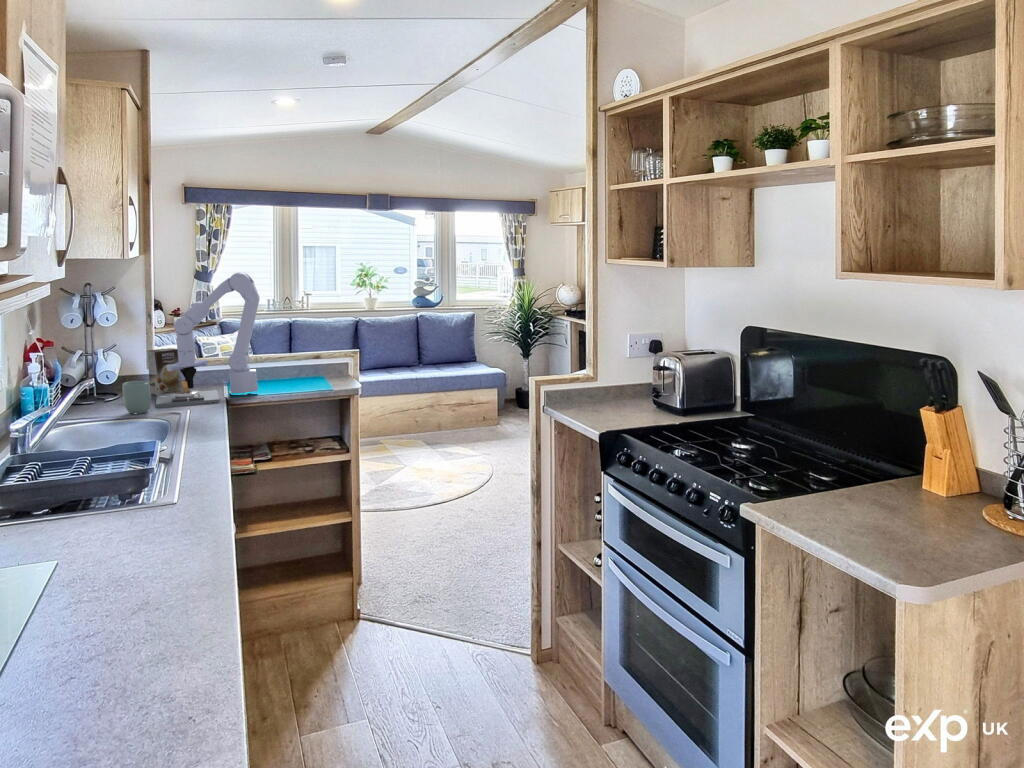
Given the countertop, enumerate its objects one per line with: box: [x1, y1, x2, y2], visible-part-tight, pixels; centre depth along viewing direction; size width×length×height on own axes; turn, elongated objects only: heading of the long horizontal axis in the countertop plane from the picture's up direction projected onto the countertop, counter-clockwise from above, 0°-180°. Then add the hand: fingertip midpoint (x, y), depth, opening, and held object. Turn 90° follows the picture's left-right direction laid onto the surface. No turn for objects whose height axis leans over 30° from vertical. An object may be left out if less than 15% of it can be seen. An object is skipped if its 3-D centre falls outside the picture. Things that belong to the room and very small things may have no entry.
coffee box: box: [146, 347, 183, 396], centre depth 271 cm, size 9×6×16 cm
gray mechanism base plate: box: [155, 389, 221, 409], centre depth 259 cm, size 20×18×3 cm
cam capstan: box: [175, 379, 200, 398], centre depth 260 cm, size 12×8×4 cm, turn 28°
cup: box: [121, 380, 152, 414], centre depth 239 cm, size 8×8×10 cm
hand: (189, 388), depth 266 cm, fingers closed, pressing on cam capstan
